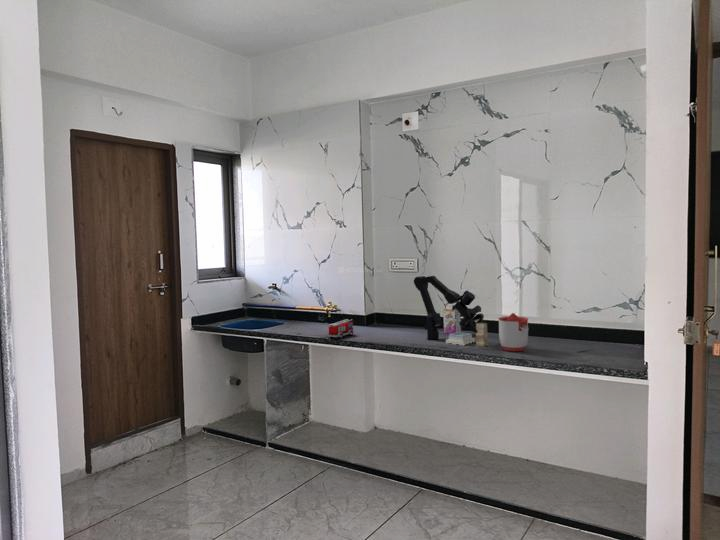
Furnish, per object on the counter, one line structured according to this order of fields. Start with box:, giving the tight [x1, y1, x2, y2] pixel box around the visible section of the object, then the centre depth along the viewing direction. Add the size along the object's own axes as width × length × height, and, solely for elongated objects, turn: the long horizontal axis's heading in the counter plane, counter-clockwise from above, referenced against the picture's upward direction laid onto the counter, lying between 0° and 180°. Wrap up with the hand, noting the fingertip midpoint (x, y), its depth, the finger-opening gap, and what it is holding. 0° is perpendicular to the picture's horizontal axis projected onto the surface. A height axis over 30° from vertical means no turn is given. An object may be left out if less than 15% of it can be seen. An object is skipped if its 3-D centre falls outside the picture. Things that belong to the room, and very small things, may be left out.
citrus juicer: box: [498, 312, 529, 353], centre depth 297 cm, size 16×17×20 cm
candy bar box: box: [442, 307, 462, 335], centre depth 348 cm, size 11×5×16 cm, turn 35°
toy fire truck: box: [327, 318, 355, 339], centre depth 352 cm, size 9×19×10 cm, turn 142°
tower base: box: [445, 331, 476, 346], centre depth 321 cm, size 12×12×5 cm
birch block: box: [475, 322, 488, 347], centre depth 311 cm, size 4×4×12 cm
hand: (481, 331), depth 311 cm, fingers open, 9 cm apart
